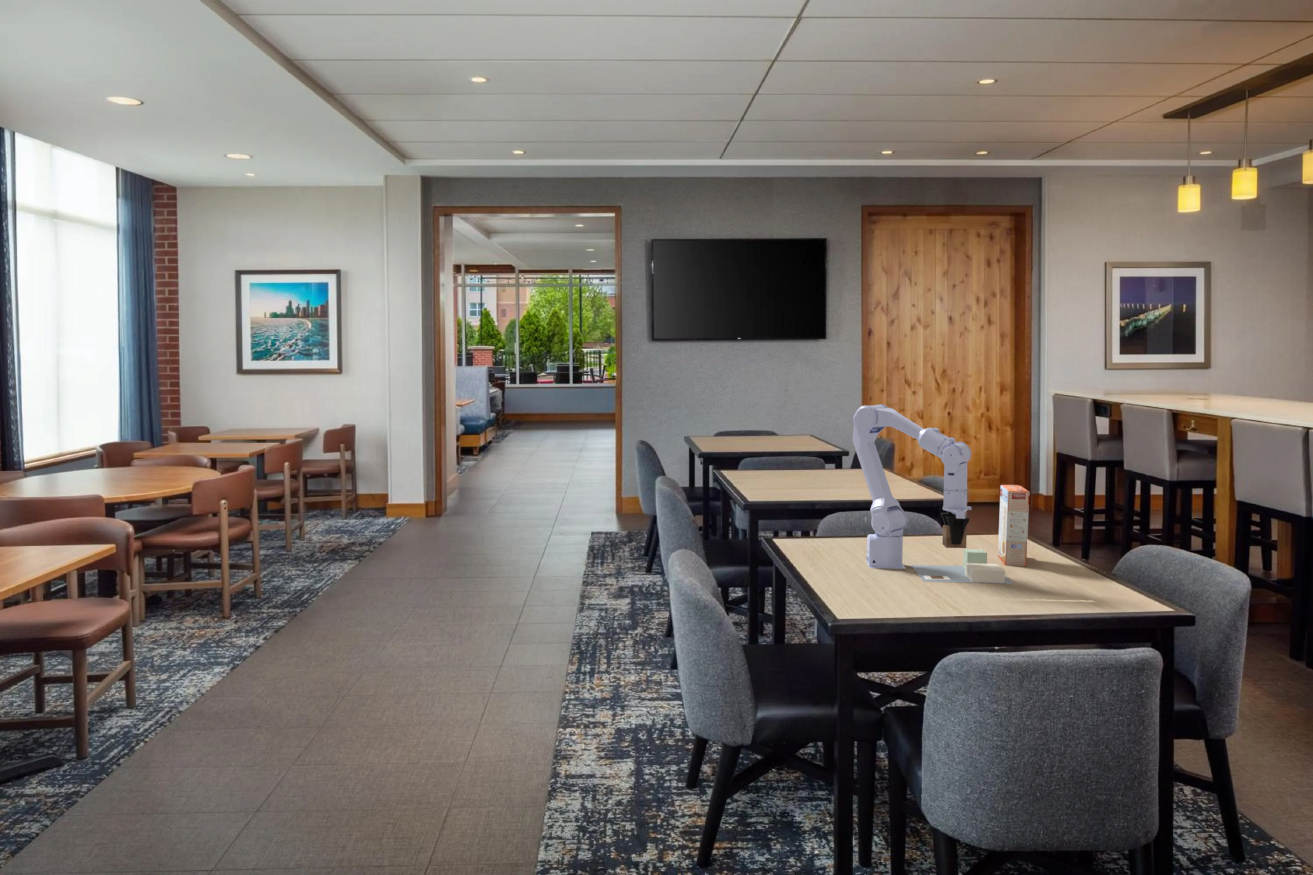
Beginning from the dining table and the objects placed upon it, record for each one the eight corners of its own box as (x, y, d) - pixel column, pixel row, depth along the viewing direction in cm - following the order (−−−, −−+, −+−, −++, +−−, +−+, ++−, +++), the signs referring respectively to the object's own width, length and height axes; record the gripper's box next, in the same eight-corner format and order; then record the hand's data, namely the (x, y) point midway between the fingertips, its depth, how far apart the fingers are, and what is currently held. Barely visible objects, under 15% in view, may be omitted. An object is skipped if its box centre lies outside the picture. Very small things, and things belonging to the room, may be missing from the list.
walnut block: (946, 547, 250) (946, 528, 250) (942, 544, 255) (942, 525, 255) (966, 548, 250) (966, 528, 250) (962, 544, 255) (962, 525, 254)
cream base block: (971, 581, 246) (972, 569, 245) (964, 574, 253) (965, 563, 253) (1004, 582, 245) (1005, 570, 245) (996, 575, 253) (997, 563, 252)
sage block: (967, 571, 258) (967, 552, 257) (962, 567, 263) (963, 548, 262) (986, 571, 257) (987, 552, 257) (982, 567, 262) (982, 549, 262)
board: (923, 583, 246) (923, 579, 246) (910, 566, 266) (910, 563, 266) (1013, 585, 244) (1014, 581, 244) (994, 568, 263) (994, 565, 263)
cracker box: (1027, 568, 264) (1030, 490, 263) (1004, 567, 266) (1006, 490, 264) (1019, 557, 278) (1021, 484, 276) (997, 556, 279) (999, 483, 278)
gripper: (977, 493, 244) (976, 547, 245) (965, 486, 258) (964, 537, 259) (948, 493, 245) (947, 547, 246) (937, 486, 259) (936, 537, 260)
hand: (954, 542), depth 253 cm, fingers closed on walnut block, 5 cm apart
